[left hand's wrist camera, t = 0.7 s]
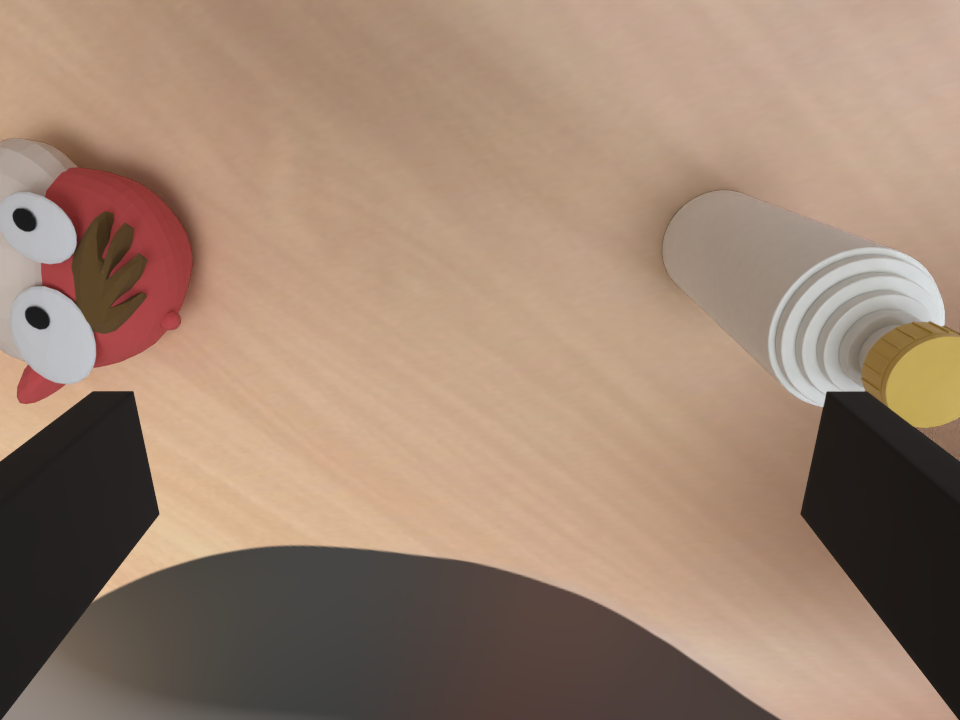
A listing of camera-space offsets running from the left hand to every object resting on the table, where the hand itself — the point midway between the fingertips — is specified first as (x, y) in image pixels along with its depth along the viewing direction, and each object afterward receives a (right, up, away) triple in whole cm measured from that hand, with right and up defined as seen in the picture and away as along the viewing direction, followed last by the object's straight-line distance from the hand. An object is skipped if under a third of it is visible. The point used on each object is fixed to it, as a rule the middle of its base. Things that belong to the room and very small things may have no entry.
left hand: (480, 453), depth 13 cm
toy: (-34, +10, +35) cm, 50 cm away
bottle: (+17, +10, +34) cm, 40 cm away
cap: (+17, +1, +12) cm, 21 cm away
